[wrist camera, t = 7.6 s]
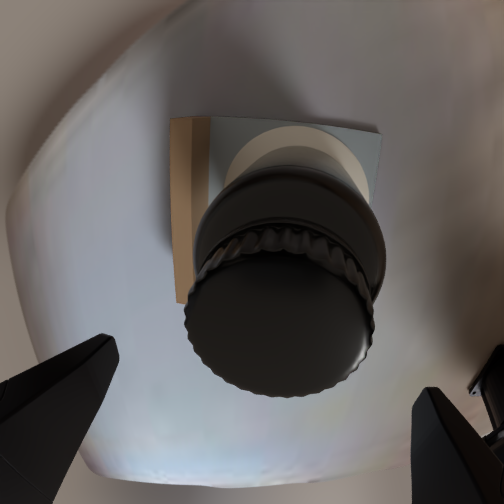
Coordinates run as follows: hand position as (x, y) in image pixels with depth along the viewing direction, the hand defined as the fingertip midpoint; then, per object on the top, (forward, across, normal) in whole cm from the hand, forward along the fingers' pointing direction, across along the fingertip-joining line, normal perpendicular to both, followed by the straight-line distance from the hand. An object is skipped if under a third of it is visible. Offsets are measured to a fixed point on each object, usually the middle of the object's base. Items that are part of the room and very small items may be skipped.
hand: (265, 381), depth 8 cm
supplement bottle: (+12, 0, -1) cm, 12 cm away
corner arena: (+13, +1, 0) cm, 13 cm away
